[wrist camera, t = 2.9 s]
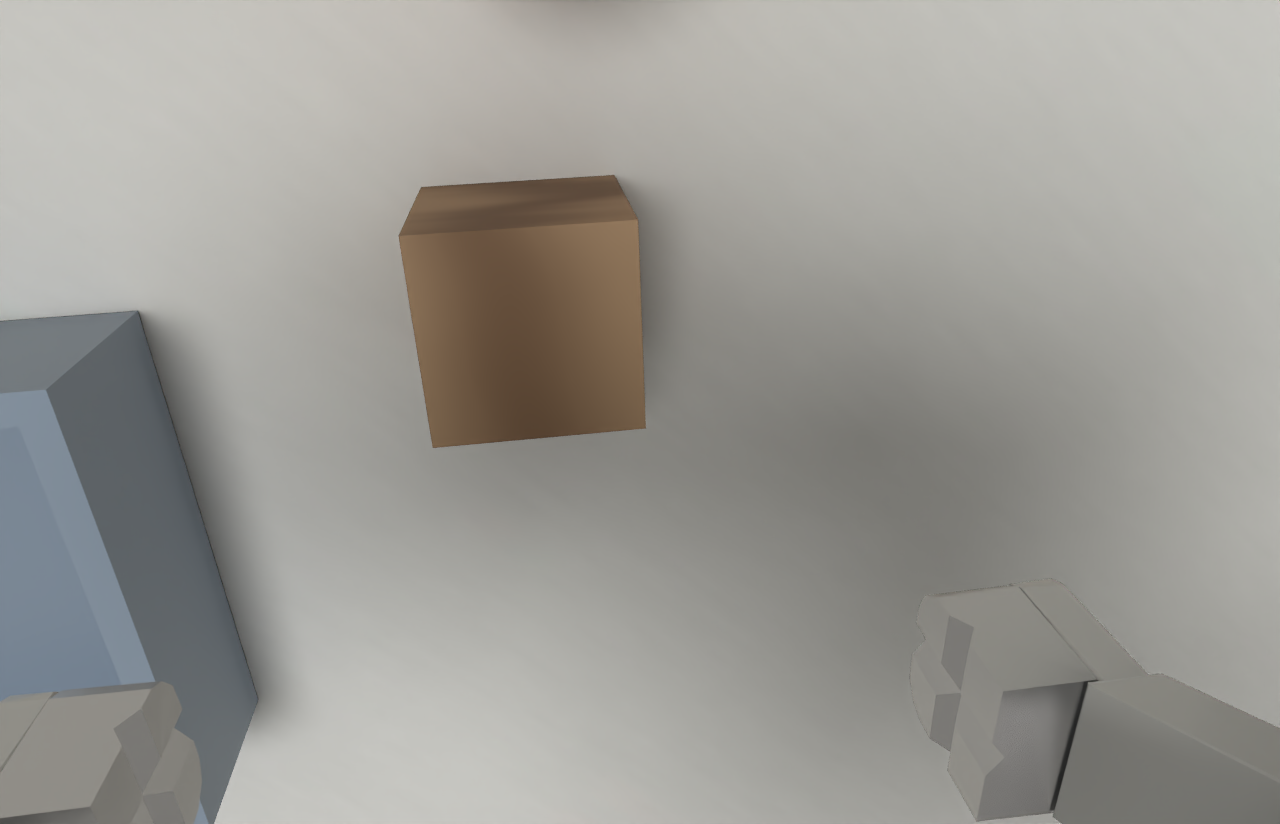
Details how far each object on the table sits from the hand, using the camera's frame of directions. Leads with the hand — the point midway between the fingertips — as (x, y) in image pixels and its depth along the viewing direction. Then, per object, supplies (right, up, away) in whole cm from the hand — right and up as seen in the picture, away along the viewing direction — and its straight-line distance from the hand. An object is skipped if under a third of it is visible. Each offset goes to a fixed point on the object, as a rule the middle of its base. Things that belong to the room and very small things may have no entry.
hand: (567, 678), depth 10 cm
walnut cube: (-2, +7, +14) cm, 16 cm away
